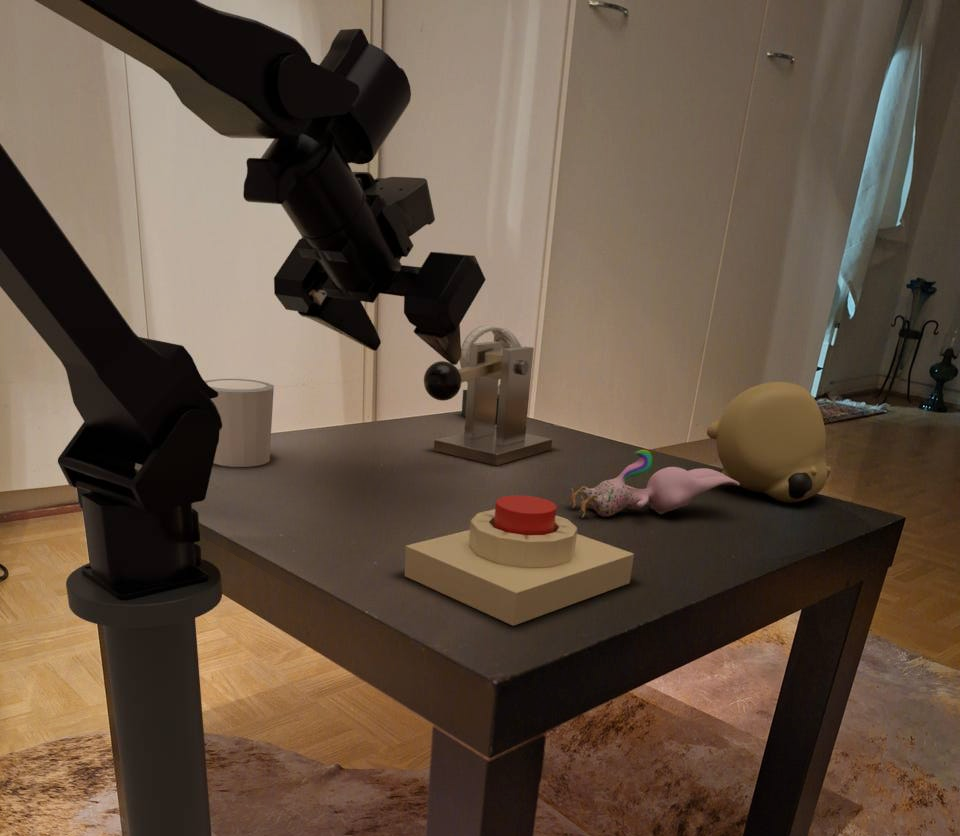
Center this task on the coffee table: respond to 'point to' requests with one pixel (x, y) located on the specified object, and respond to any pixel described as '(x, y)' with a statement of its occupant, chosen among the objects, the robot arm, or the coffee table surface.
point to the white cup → (243, 421)
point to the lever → (459, 375)
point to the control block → (517, 568)
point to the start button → (525, 515)
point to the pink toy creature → (650, 488)
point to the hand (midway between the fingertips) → (416, 353)
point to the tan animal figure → (773, 442)
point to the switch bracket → (512, 412)
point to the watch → (500, 336)
